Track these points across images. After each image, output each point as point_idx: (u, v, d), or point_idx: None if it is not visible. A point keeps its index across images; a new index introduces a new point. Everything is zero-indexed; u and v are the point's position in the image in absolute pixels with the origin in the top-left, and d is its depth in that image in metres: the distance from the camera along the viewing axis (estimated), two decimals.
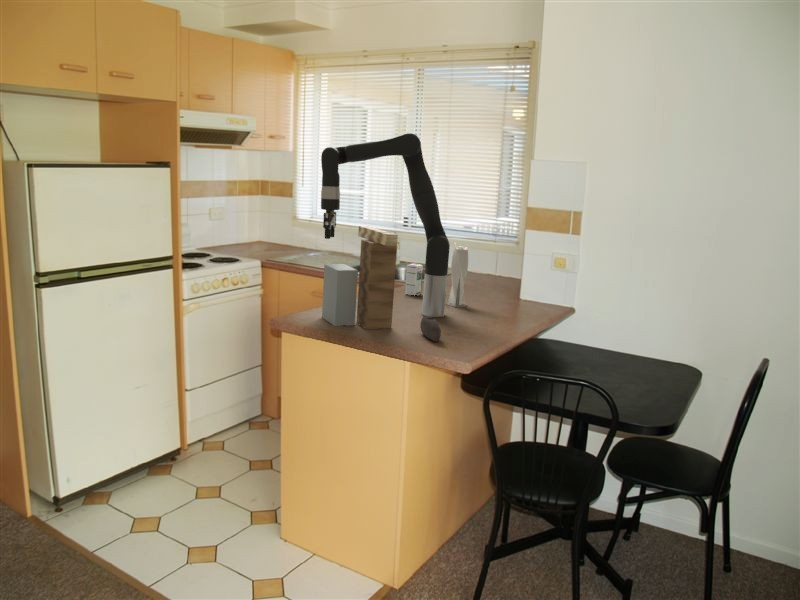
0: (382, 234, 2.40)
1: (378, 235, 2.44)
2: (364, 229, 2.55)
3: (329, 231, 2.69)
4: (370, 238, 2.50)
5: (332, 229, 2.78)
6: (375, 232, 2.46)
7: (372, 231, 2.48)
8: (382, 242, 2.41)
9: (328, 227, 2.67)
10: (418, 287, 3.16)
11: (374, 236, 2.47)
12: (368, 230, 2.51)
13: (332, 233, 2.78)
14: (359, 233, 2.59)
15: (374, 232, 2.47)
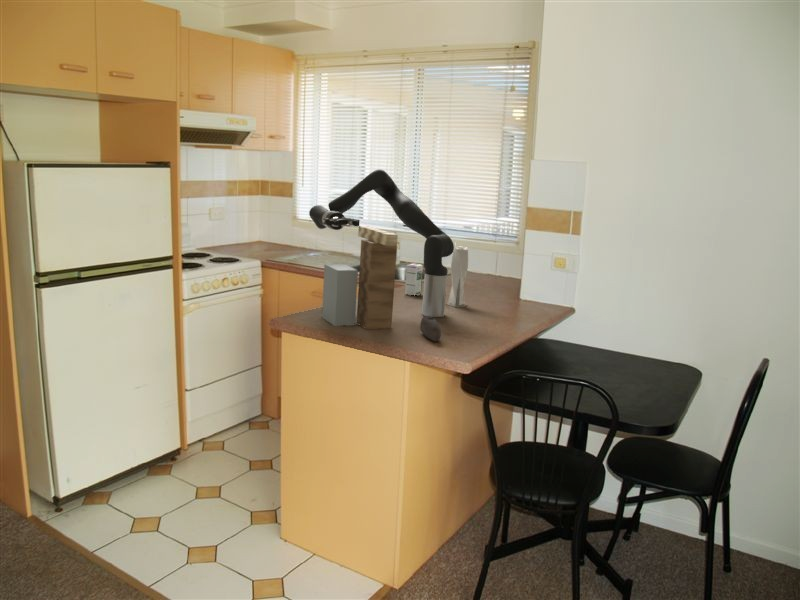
0: (382, 234, 2.40)
1: (378, 235, 2.44)
2: (364, 229, 2.55)
3: (334, 220, 2.70)
4: (370, 238, 2.50)
5: (354, 222, 2.74)
6: (375, 232, 2.46)
7: (372, 231, 2.48)
8: (382, 242, 2.41)
9: (327, 220, 2.70)
10: (418, 287, 3.16)
11: (374, 236, 2.47)
12: (368, 230, 2.51)
13: (355, 222, 2.73)
14: (359, 233, 2.59)
15: (374, 232, 2.47)
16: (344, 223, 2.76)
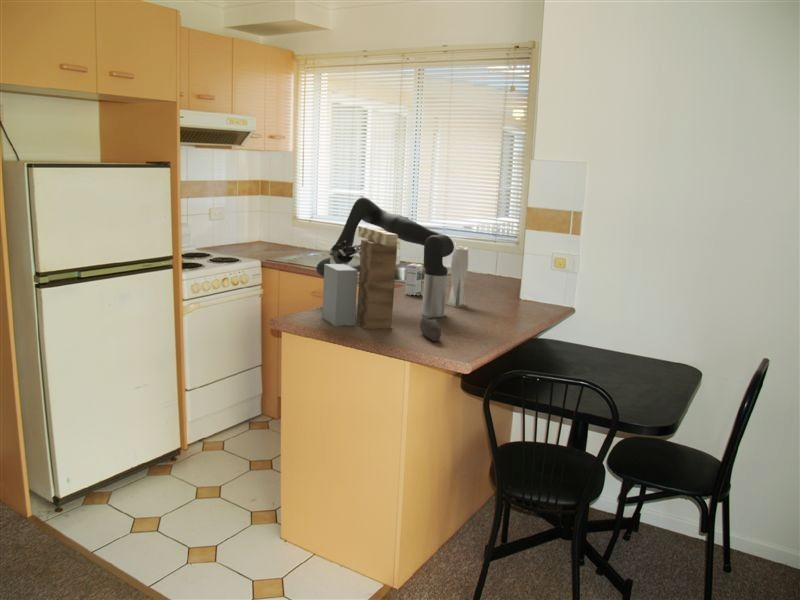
0: (382, 234, 2.40)
1: (378, 235, 2.44)
2: (364, 229, 2.55)
3: (341, 244, 2.69)
4: (370, 238, 2.50)
5: None
6: (375, 232, 2.46)
7: (372, 231, 2.48)
8: (382, 242, 2.41)
9: (334, 245, 2.69)
10: (418, 287, 3.16)
11: (374, 236, 2.47)
12: (368, 230, 2.51)
13: None
14: (359, 233, 2.59)
15: (374, 232, 2.47)
16: (352, 250, 2.74)
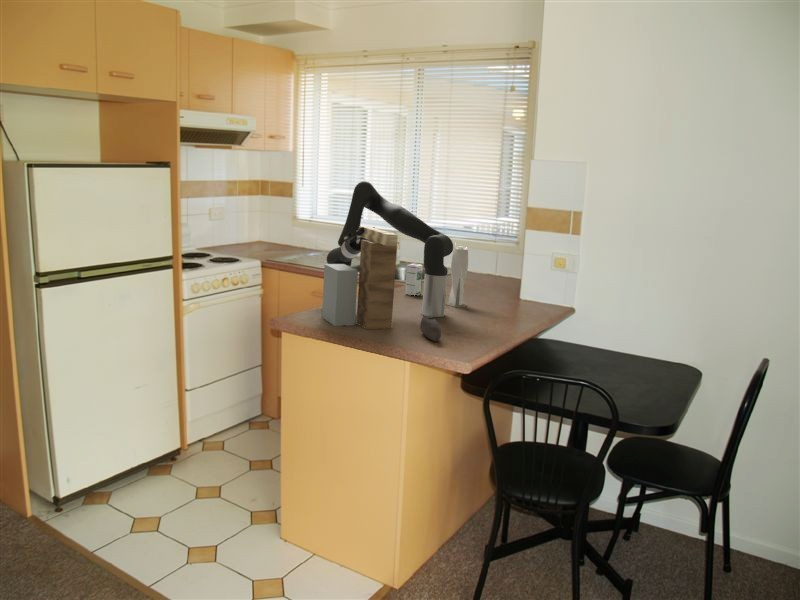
0: (382, 234, 2.40)
1: (378, 235, 2.44)
2: (364, 229, 2.55)
3: None
4: (370, 238, 2.50)
5: None
6: (375, 232, 2.46)
7: (372, 231, 2.48)
8: (382, 242, 2.41)
9: (352, 231, 2.58)
10: (418, 287, 3.16)
11: (374, 236, 2.47)
12: (368, 230, 2.51)
13: None
14: None
15: (374, 232, 2.47)
16: None
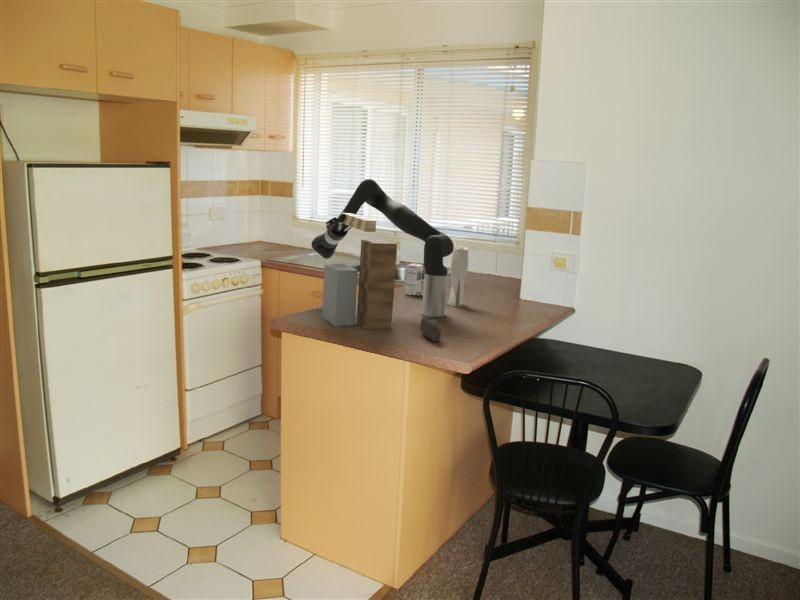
0: (361, 220, 2.47)
1: (358, 221, 2.50)
2: None
3: None
4: (350, 224, 2.56)
5: None
6: (355, 218, 2.52)
7: (352, 217, 2.55)
8: (361, 228, 2.47)
9: (333, 218, 2.64)
10: (418, 287, 3.16)
11: (354, 222, 2.53)
12: (349, 217, 2.58)
13: None
14: None
15: (354, 218, 2.53)
16: (343, 224, 2.68)
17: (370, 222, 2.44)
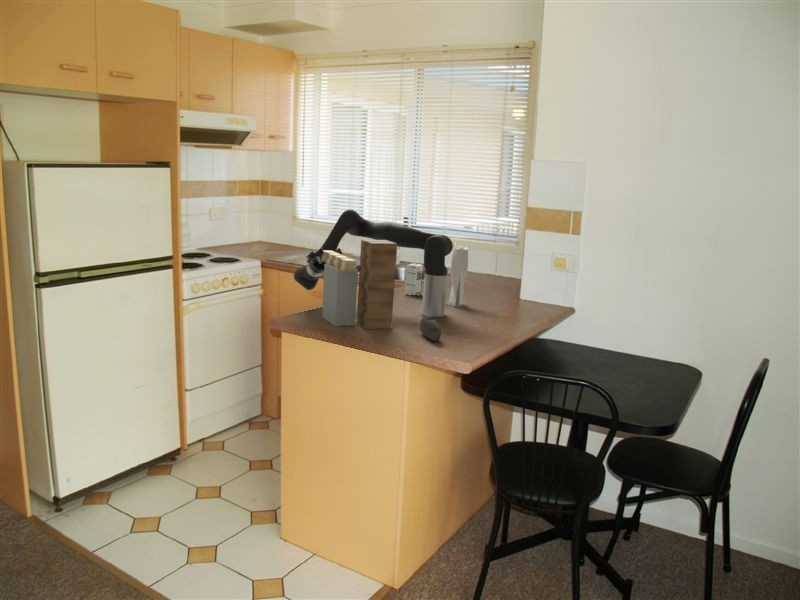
0: (341, 260, 2.47)
1: (338, 261, 2.50)
2: (326, 254, 2.61)
3: None
4: (331, 263, 2.56)
5: (336, 252, 2.66)
6: (335, 257, 2.52)
7: (333, 256, 2.54)
8: (341, 268, 2.47)
9: (311, 252, 2.63)
10: (418, 287, 3.16)
11: (335, 261, 2.53)
12: (329, 255, 2.57)
13: (337, 250, 2.65)
14: (322, 257, 2.65)
15: (335, 257, 2.53)
16: None
17: (350, 262, 2.44)
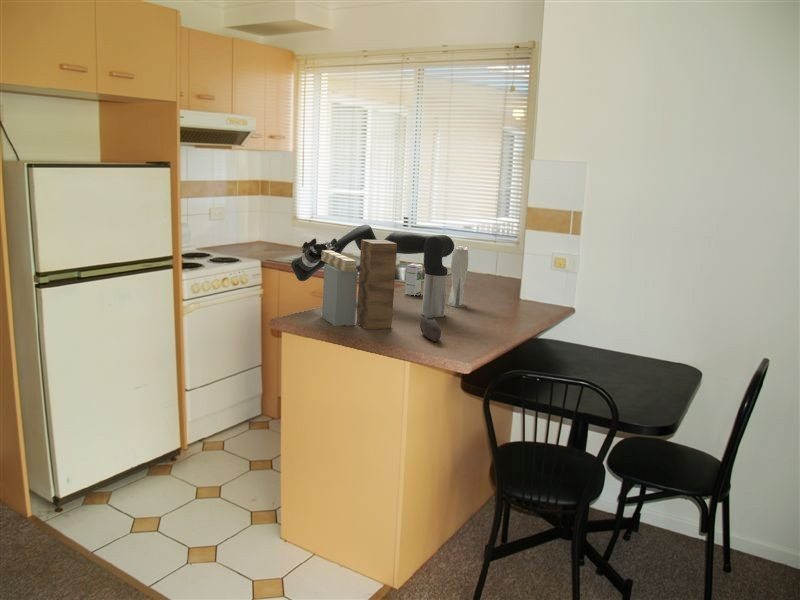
0: (341, 260, 2.47)
1: (338, 261, 2.50)
2: (326, 254, 2.61)
3: None
4: (331, 263, 2.56)
5: (331, 242, 2.75)
6: (335, 257, 2.52)
7: (333, 256, 2.54)
8: (341, 268, 2.47)
9: (305, 243, 2.72)
10: (418, 287, 3.16)
11: (335, 261, 2.53)
12: (329, 255, 2.57)
13: (333, 241, 2.74)
14: (322, 257, 2.65)
15: (335, 257, 2.53)
16: (323, 247, 2.76)
17: (350, 262, 2.44)
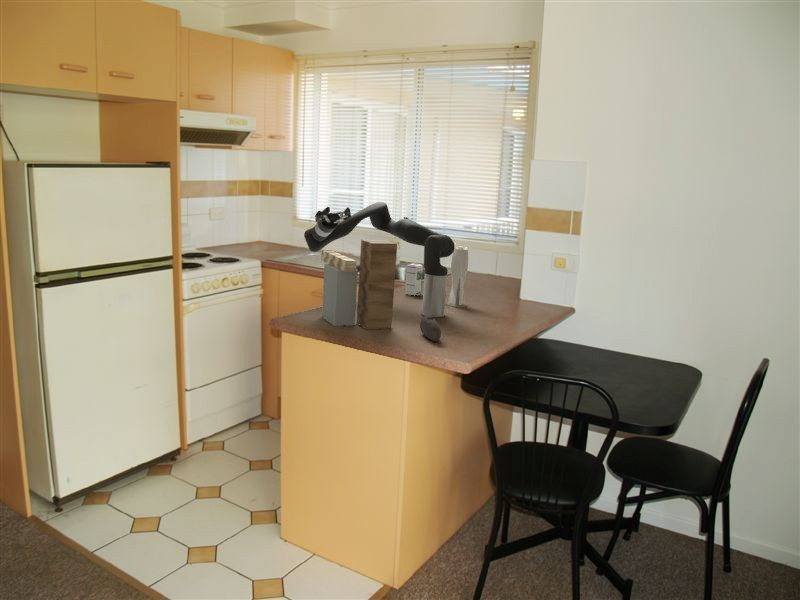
0: (341, 260, 2.47)
1: (338, 261, 2.50)
2: (326, 254, 2.61)
3: None
4: (331, 263, 2.56)
5: (345, 211, 2.76)
6: (335, 257, 2.52)
7: (333, 256, 2.54)
8: (341, 268, 2.47)
9: (318, 211, 2.72)
10: (418, 287, 3.16)
11: (335, 261, 2.53)
12: (329, 255, 2.57)
13: (346, 209, 2.74)
14: (322, 257, 2.65)
15: (335, 257, 2.53)
16: (336, 216, 2.77)
17: (350, 262, 2.44)
